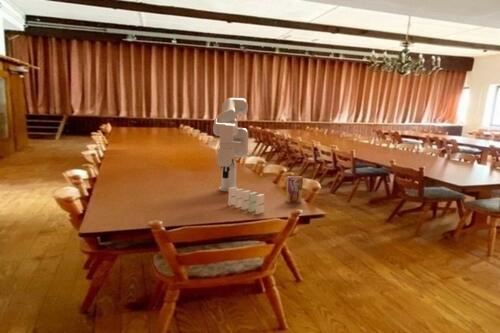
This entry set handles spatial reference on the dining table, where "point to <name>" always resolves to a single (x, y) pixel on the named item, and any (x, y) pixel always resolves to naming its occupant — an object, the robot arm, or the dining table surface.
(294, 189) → the candy box
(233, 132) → the robot arm
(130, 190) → the dining table surface
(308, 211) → the dining table surface
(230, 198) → the domino
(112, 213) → the dining table surface
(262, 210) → the domino
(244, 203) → the domino
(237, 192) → the domino
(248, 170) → the dining table surface
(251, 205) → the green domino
